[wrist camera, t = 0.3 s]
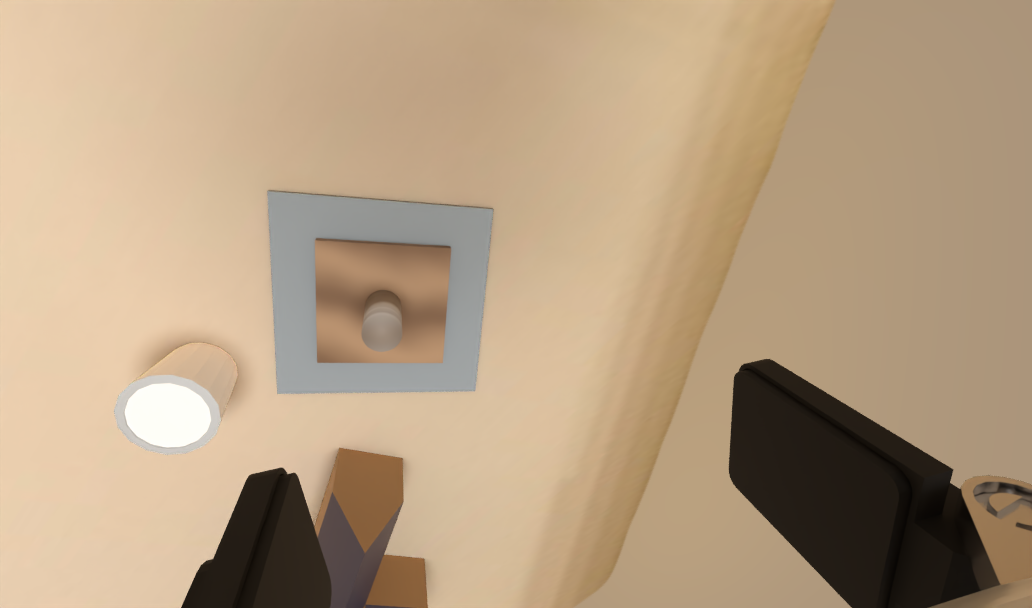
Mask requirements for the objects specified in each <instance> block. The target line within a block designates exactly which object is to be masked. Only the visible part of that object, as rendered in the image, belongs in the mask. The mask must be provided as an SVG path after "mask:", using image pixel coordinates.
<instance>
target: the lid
mask: <svg viewBox="0 0 1032 608" xmlns="http://www.w3.org/2000/svg"><path fill="white" fill-rule="evenodd" d="M450 259H451V247H450V246H438V245H422V244H405V243H388V242H372V241H355V240H339V239H322V238H316V239H315V278H316V332H317V363H443V354H444V340H445V327H446V313H447V300H448V286H449V273H450Z"/></svg>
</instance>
